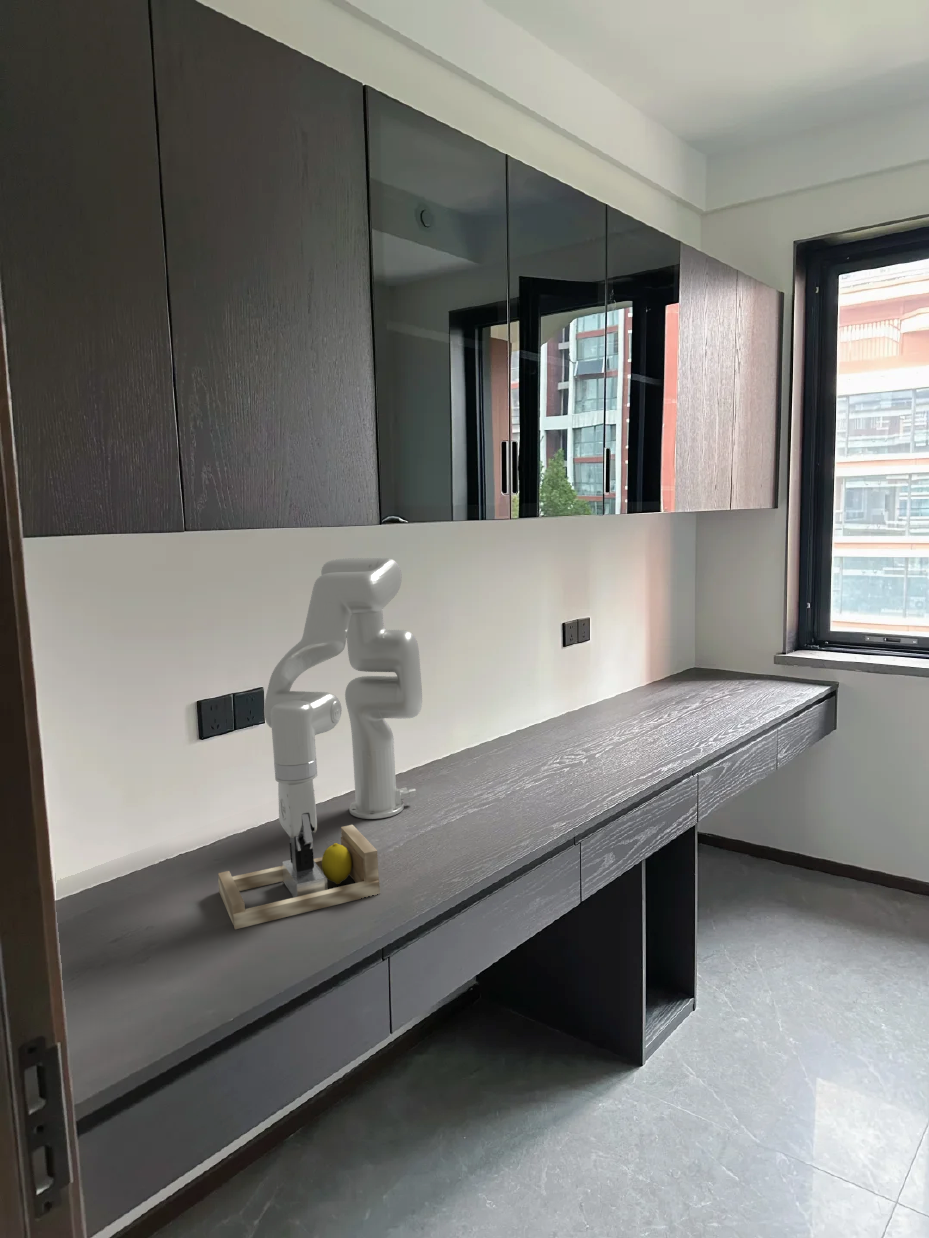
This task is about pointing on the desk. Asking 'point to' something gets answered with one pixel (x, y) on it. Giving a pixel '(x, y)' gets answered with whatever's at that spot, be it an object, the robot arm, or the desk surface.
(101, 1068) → the desk surface
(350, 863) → the lemon
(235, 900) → the press frame
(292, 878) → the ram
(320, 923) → the desk surface
